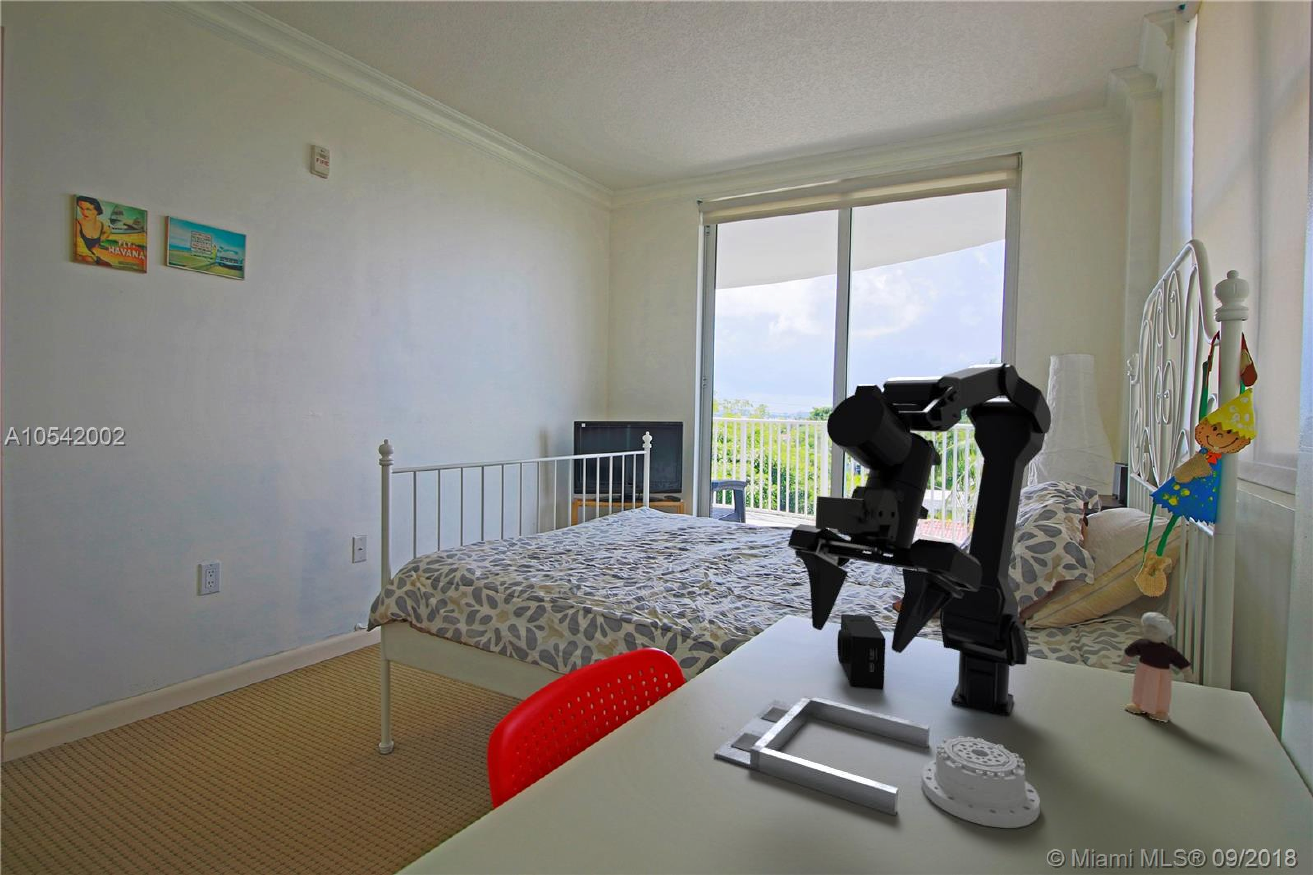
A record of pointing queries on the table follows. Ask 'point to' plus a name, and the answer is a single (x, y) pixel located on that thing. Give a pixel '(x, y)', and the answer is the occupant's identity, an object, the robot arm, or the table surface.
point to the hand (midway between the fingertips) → (854, 639)
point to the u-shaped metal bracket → (778, 725)
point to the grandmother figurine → (1154, 667)
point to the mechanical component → (980, 783)
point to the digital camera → (861, 651)
